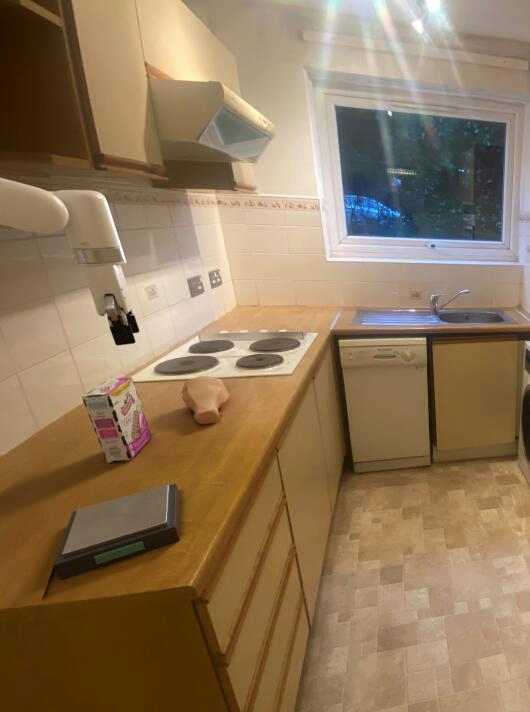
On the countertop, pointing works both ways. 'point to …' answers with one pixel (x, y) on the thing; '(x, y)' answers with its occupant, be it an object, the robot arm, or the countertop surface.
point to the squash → (205, 398)
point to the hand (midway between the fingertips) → (128, 338)
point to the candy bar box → (117, 419)
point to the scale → (121, 543)
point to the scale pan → (117, 520)
